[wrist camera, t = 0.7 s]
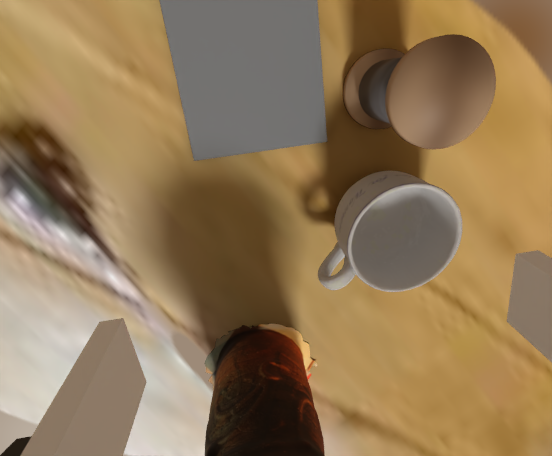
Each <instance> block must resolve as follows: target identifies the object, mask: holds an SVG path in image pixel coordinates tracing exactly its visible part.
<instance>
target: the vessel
mask: <svg viewBox="0 0 552 456" xmlns="http://www.w3.org/2000/svg"><path fill="white" fill-rule="evenodd" d="M205 366H206V372H207V373H210V374H212V376H211V377H210V379H209V382H211V383H212V384H213V397H212V402H211V408H210V414H209V421H208V425H207V430H206V441H205V456H325V455H324V442H323V436H322V432H321V427H320V423H319V419H318V415H317V412H316V410H315V408H314V403H313V398H312V393H311V389H310V386H309V383H308V379H309V377H310V376H311V374H310V373H309V370H310V368H311V367H312V366H316V367H317V364H316V363H315V362H314V361H313V360H312V359H311V358H310V348H309V344H308V343H306V342H304V341H303V337H302V335H301V334H300V332H298V331H296V330H295V329H294V328H292V327H285V326H283V325H280V324H272V323H270V324H268V325H265V324H260V325H258V326H256V327H254V326H252V328H249V327H247V326H244V325H243V326H241V327H240V328H239V329H236V330H232V331H229V335H224V336H222V337H221V338H220V339H217V340H216V345H215V348H214V350H213V351H212V352H211V353H210V354H209V356H208V357H207V359H206V361H205Z"/></svg>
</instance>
